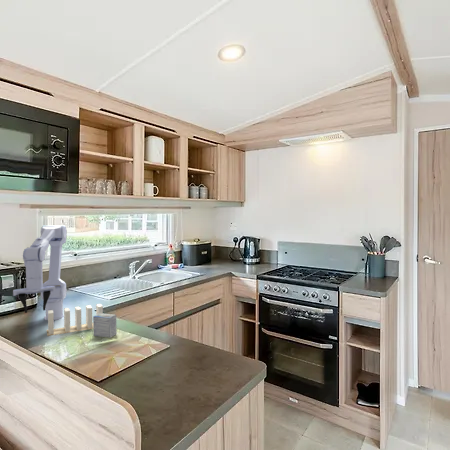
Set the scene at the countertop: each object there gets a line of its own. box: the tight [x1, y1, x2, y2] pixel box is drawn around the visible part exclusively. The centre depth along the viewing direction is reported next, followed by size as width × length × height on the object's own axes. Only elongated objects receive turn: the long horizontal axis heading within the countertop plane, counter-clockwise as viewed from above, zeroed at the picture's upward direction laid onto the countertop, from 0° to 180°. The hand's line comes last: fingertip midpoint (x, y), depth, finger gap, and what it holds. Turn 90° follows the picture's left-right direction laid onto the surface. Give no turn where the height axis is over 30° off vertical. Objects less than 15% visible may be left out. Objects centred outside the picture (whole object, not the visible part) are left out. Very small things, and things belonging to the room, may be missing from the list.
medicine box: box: [92, 313, 118, 338], centre depth 134 cm, size 8×4×9 cm, turn 74°
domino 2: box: [63, 307, 71, 332], centre depth 139 cm, size 5×2×8 cm, turn 31°
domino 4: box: [85, 304, 93, 328], centre depth 144 cm, size 5×2×8 cm, turn 31°
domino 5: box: [95, 303, 104, 315], centre depth 146 cm, size 5×2×8 cm, turn 31°
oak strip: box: [46, 322, 93, 337], centre depth 142 cm, size 8×24×1 cm, turn 121°
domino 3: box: [74, 306, 82, 330], centre depth 141 cm, size 5×2×8 cm, turn 31°
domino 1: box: [47, 310, 55, 335], centre depth 136 cm, size 5×2×8 cm, turn 30°
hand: (35, 311), depth 133 cm, fingers open, 6 cm apart
